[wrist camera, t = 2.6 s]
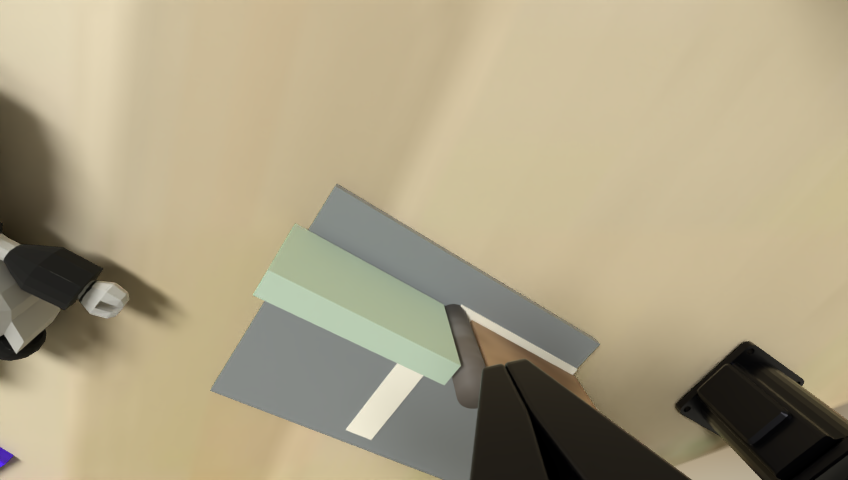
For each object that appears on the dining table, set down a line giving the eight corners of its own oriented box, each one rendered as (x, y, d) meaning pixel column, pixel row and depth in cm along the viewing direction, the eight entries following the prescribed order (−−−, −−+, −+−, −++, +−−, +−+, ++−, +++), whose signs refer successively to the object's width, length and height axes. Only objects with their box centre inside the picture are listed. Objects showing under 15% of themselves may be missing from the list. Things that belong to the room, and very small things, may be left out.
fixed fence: (573, 368, 24) (628, 451, 19) (556, 386, 24) (605, 472, 19) (448, 299, 21) (472, 373, 16) (432, 320, 22) (449, 400, 16)
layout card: (596, 339, 24) (600, 345, 23) (462, 480, 28) (463, 488, 27) (336, 183, 19) (335, 186, 18) (213, 384, 22) (209, 392, 22)
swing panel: (443, 304, 21) (461, 366, 16) (430, 320, 21) (444, 385, 17) (295, 223, 18) (267, 269, 14) (283, 243, 18) (252, 295, 14)
